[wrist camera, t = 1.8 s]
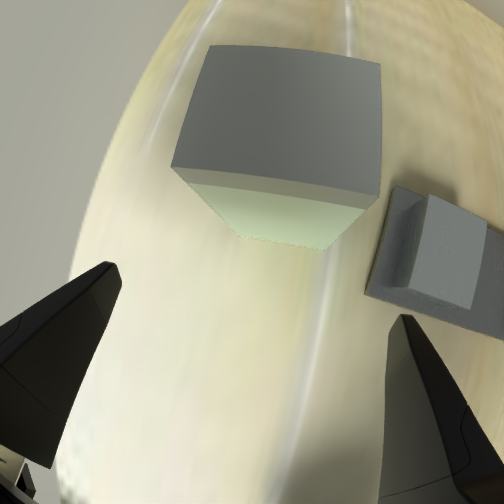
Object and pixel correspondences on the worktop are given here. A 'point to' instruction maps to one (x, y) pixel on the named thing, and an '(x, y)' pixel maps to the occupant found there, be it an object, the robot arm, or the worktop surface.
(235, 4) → the worktop surface
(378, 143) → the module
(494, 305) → the rail
